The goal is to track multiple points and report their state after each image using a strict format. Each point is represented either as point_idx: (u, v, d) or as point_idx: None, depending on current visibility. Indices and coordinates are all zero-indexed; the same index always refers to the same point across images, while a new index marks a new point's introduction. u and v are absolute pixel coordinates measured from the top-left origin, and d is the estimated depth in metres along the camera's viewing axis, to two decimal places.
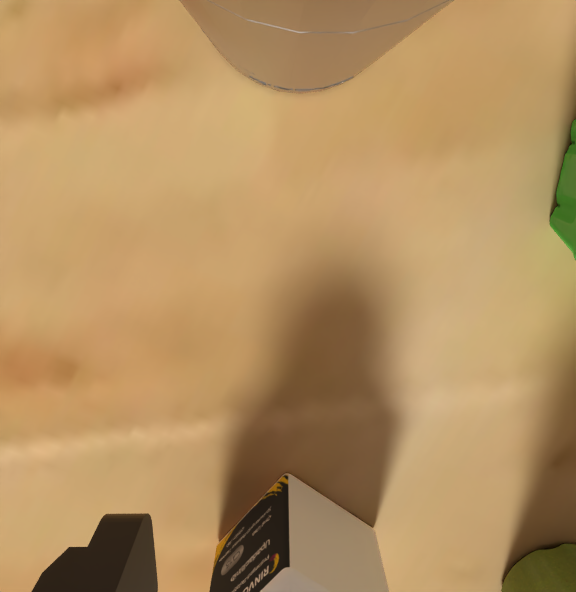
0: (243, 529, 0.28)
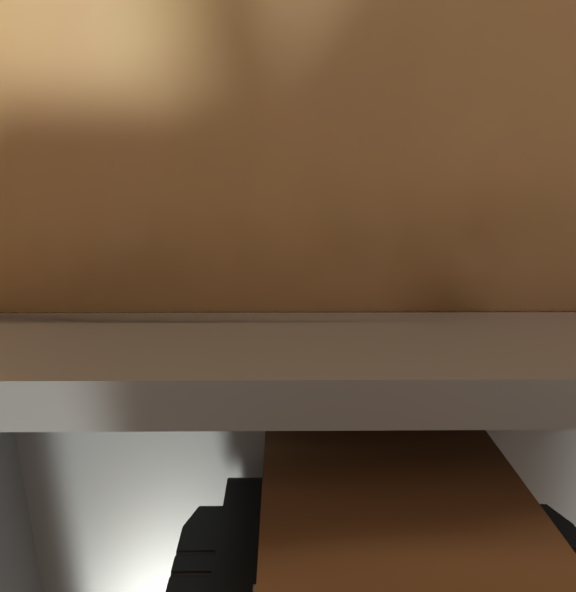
0: None
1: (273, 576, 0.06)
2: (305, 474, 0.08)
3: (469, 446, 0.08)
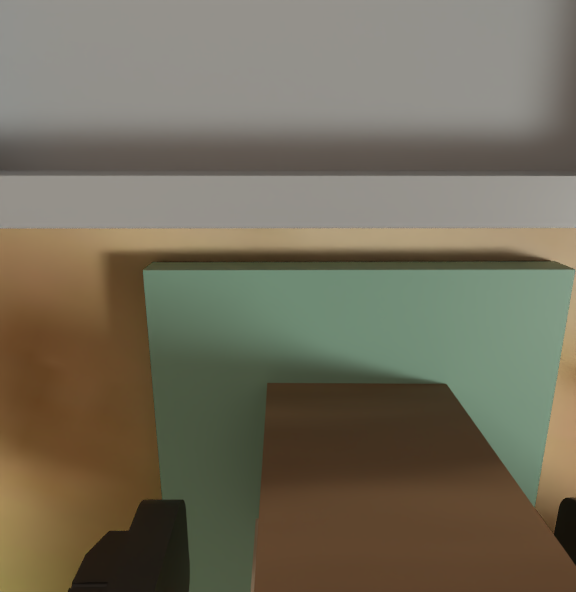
0: None
1: (273, 507, 0.07)
2: (300, 433, 0.09)
3: (443, 413, 0.10)
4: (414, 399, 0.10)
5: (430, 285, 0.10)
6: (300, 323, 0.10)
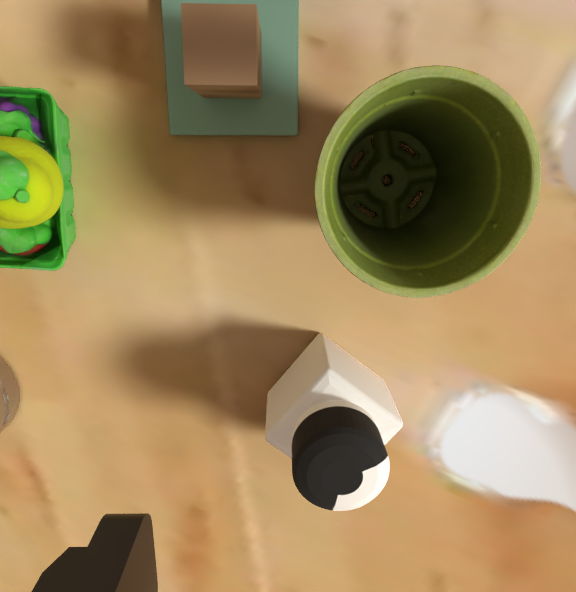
0: None
1: None
2: None
3: None
4: None
5: None
6: None
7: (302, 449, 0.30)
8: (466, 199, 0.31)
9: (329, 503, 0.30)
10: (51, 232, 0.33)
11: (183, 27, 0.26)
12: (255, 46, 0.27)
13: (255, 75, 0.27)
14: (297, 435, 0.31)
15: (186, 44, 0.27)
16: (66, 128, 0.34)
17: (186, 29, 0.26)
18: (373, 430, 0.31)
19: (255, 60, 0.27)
